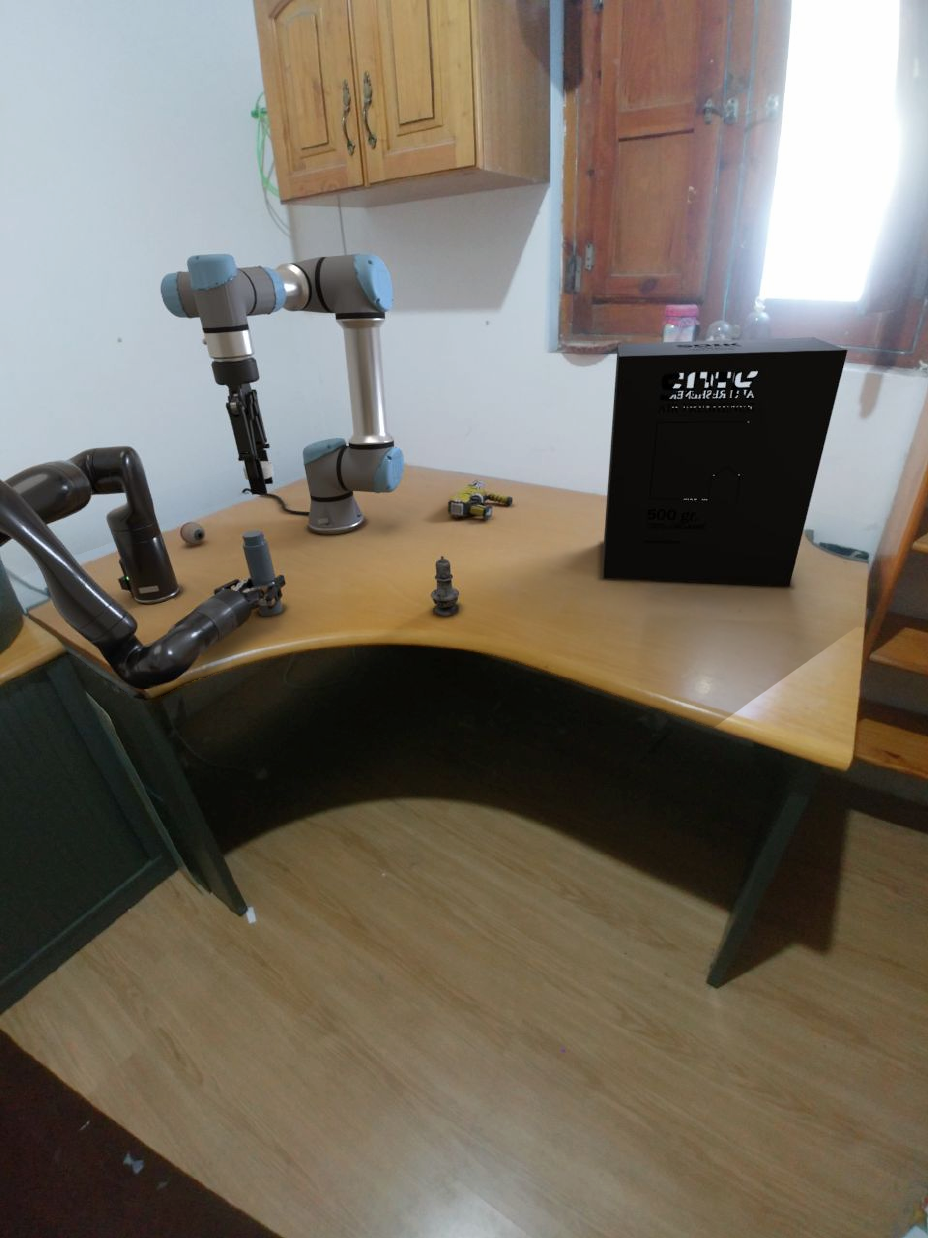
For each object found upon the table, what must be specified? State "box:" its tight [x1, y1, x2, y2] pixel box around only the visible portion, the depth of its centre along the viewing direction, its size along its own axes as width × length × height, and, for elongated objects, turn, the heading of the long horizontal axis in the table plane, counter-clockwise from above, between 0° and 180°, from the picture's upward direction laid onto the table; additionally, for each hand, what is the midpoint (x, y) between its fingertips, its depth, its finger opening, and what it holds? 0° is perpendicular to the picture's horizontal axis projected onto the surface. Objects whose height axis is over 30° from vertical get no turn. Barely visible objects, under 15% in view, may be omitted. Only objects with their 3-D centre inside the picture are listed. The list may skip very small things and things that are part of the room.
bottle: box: [241, 529, 284, 617], centre depth 123 cm, size 5×5×18 cm
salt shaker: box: [430, 555, 461, 616], centre depth 121 cm, size 6×6×12 cm
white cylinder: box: [242, 460, 275, 481], centre depth 114 cm, size 5×5×2 cm
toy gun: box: [447, 479, 514, 521], centre depth 175 cm, size 5×24×15 cm
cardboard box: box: [602, 336, 849, 588], centre depth 126 cm, size 38×20×45 cm, turn 78°
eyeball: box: [179, 521, 206, 546], centre depth 161 cm, size 6×6×6 cm
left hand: (271, 577), depth 126 cm, fingers closed on bottle, 5 cm apart
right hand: (262, 488), depth 116 cm, fingers closed on white cylinder, 5 cm apart
